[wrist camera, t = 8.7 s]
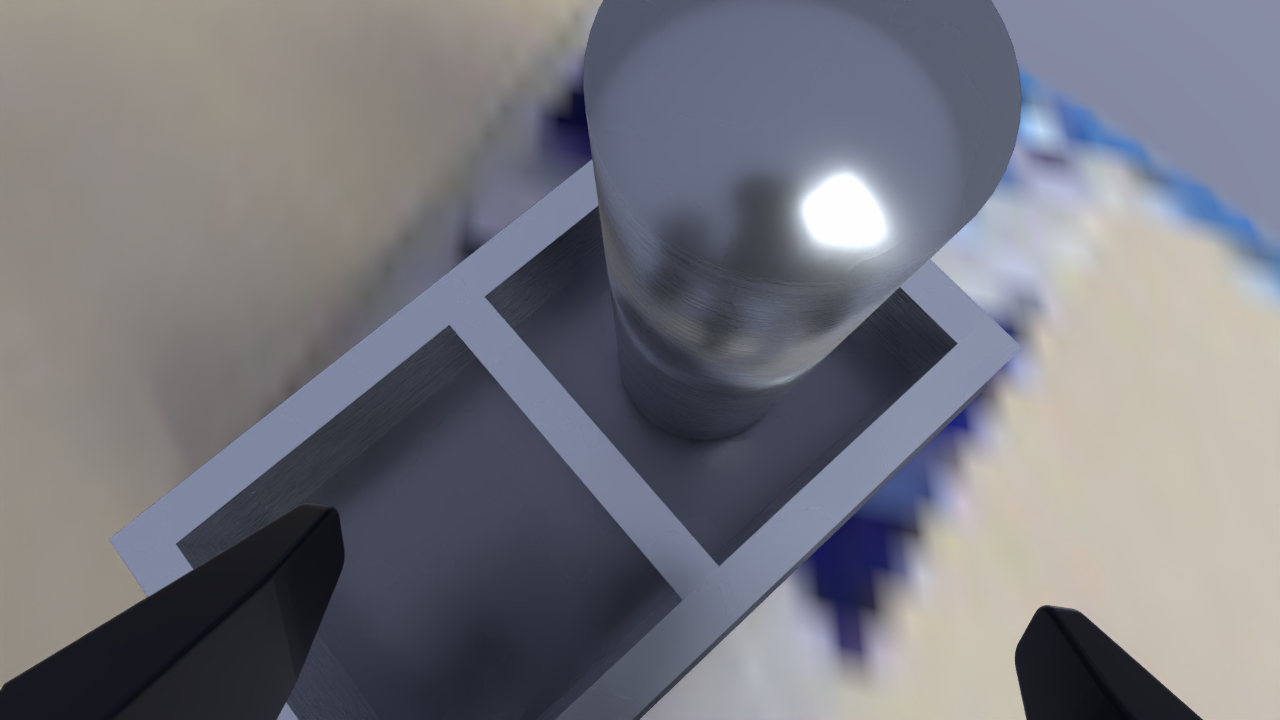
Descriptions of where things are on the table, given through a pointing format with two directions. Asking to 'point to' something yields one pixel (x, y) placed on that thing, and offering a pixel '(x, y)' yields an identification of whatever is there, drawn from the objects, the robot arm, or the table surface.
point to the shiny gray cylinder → (780, 179)
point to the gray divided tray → (555, 486)
